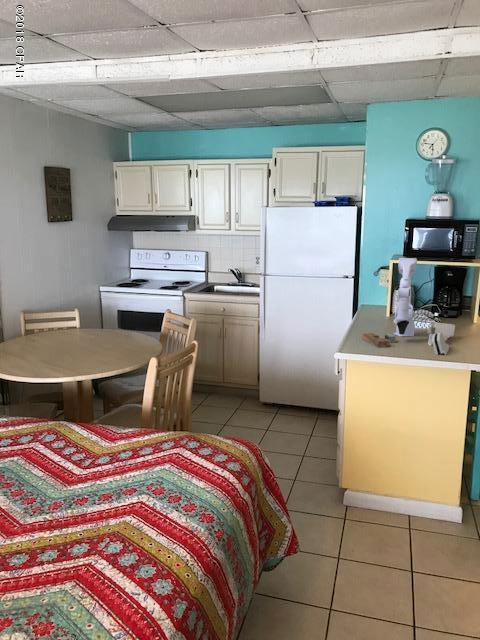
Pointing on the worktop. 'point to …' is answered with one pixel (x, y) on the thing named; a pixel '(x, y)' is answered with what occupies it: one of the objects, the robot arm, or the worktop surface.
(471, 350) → the worktop surface
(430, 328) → the shelf bracket
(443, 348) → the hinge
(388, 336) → the sage green cube
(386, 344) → the brown u-shaped block
